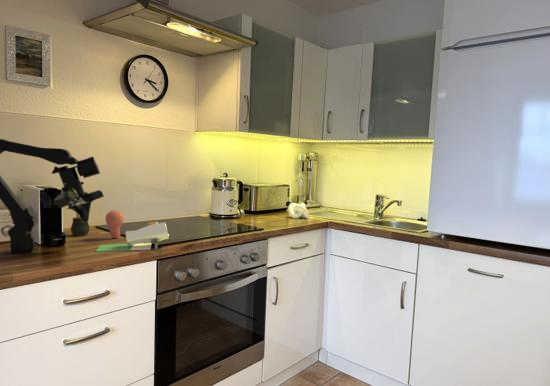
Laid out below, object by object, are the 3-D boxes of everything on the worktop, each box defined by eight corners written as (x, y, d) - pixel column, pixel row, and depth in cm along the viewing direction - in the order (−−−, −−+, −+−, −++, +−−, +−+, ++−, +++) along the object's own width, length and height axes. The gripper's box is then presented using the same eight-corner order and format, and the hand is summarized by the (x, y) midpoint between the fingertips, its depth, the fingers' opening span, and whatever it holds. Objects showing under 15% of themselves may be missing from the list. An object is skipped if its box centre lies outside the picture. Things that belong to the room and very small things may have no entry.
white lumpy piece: (312, 217, 235) (313, 203, 234) (300, 219, 226) (300, 204, 225) (297, 215, 242) (298, 201, 241) (285, 217, 233) (286, 203, 232)
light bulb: (103, 237, 163) (102, 210, 162) (119, 235, 168) (119, 208, 167) (109, 240, 158) (109, 211, 157) (126, 238, 163) (126, 210, 162)
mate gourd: (90, 233, 173) (89, 211, 172) (88, 236, 166) (88, 213, 165) (72, 234, 170) (71, 211, 169) (69, 237, 163) (69, 214, 162)
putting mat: (95, 251, 140) (95, 227, 139) (100, 245, 149) (99, 222, 148) (157, 249, 146) (157, 225, 145) (157, 243, 155) (157, 221, 154)
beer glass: (124, 227, 146) (164, 218, 149) (128, 234, 152) (166, 226, 155) (126, 243, 142) (167, 234, 146) (130, 250, 148) (169, 241, 152)
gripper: (34, 192, 136) (50, 233, 139) (73, 182, 130) (90, 224, 133) (59, 185, 146) (74, 223, 149) (96, 174, 140) (111, 214, 143)
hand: (86, 221), depth 144 cm, fingers closed
